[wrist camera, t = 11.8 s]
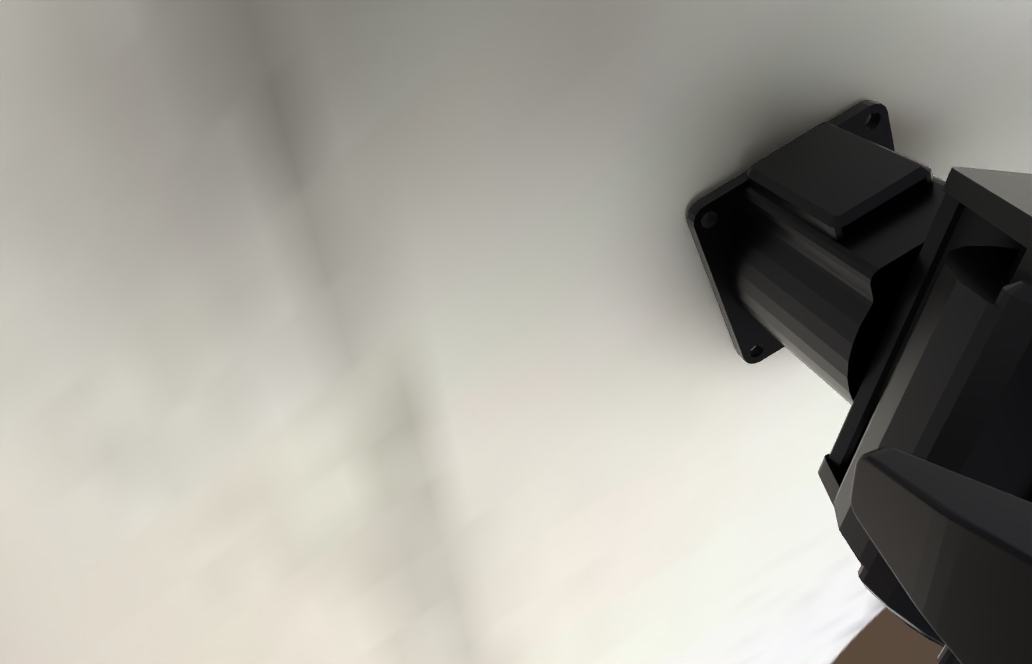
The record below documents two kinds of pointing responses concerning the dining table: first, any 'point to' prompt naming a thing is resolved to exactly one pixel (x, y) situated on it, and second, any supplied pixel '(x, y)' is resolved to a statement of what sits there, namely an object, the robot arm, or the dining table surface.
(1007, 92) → the dining table surface
